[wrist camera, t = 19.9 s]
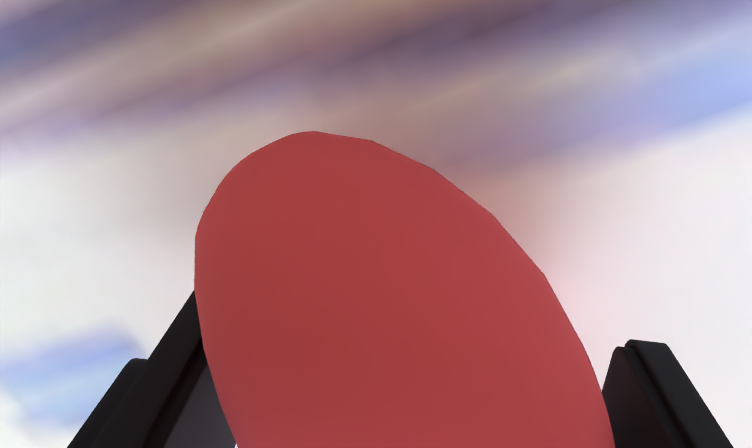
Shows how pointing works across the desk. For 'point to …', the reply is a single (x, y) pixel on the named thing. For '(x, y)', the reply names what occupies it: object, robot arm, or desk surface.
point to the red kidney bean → (380, 311)
